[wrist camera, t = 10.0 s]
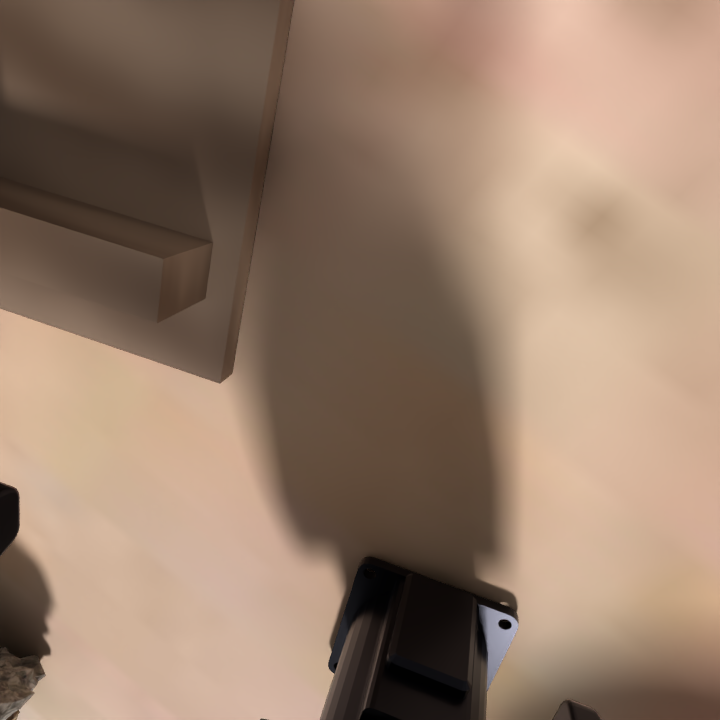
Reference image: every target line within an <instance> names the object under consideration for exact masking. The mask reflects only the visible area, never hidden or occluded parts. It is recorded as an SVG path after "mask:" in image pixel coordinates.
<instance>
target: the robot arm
mask: <svg viewBox="0 0 720 720" xmlns="http://www.w3.org/2000/svg"><path fill="white" fill-rule="evenodd" d="M19 526H20V509H19V492H18V490H17V489H16V488H15V487H12V486H10V485H7V484H4V483H2V482H0V556H1V555H2V554H3V553H4V551H5V550H6V549H7V548H8V547H9V546H10V544H11V543H12V542H13V541H14V539H15V537H16V536H17V533H18V531H19ZM367 569H372V570H374V571H375V572H370V571H368V570H367ZM502 619H506V620H509V621H508V622H504V621H501V620H502ZM517 630H518V615H517V613H516V612H515V611H514V610H513V609H511V608H509V607H507V606H504V605H501V604H499V603H496V602H493V601H490V600H488V599H485V598H482V597H480V596H477V595H474V594H472V593H469V592H466V591H463V590H461V589H458V588H455V587H453V586H450V585H447V584H444V583H442V582H439V581H436V580H434V579H431V578H428V577H426V576H423V575H420V574H417V573H415V572H412V571H409V570H407V569H404V568H401V567H399V566H396V565H393V564H390V563H388V562H385V561H382V560H380V559H377V558H374V557H366V558H364V559H362V561H361V562H360V565H359V568H358V570H357V574H356V577H355V580H354V583H353V586H352V590H351V593H350V596H349V599H348V602H347V605H346V609H345V612H344V615H343V618H342V621H341V624H340V628H339V631H338V634H337V637H336V640H335V644H334V647H333V650H332V653H331V656H330V659H329V663H328V667H329V669H330V670H331V671H332V672H333V673H334V677H333V680H332V683H331V686H330V689H329V693H328V696H327V699H326V702H325V705H324V708H323V711H322V714H321V717H320V720H486V701H487V690H488V688H489V686H490V684H491V682H492V680H493V678H494V676H495V674H496V672H497V670H498V668H499V666H500V664H501V662H502V660H503V658H504V656H505V654H506V652H507V650H508V648H509V646H510V644H511V642H512V640H513V638H514V636H515V634H516V632H517ZM260 720H267V719H260ZM552 720H602V719H601V717H600V716H599V714H598V713H597V712H596V711H595V710H594V709H593V708H592V707H589V706H587V705H584V704H581V703H579V702H576V701H574V700H571V699H567V700H565V701H563V703H562V704H561V705H560V707H559V709H558V711H557V712H556V714H555V716H554V718H553V719H552Z"/></svg>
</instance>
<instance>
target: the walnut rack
mask: <svg viewBox="0 0 720 720" xmlns="http://www.w3.org/2000/svg"><path fill="white" fill-rule="evenodd" d="M293 4H294V0H0V309H3V310H6V311H9V312H12V313H15V314H18V315H21V316H24V317H27V318H30V319H33V320H35V321H38V322H41V323H44V324H47V325H50V326H53V327H56V328H59V329H62V330H65V331H68V332H71V333H74V334H76V335H79V336H82V337H85V338H88V339H91V340H94V341H97V342H100V343H103V344H106V345H109V346H112V347H114V348H117V349H120V350H123V351H126V352H129V353H132V354H135V355H138V356H141V357H144V358H147V359H150V360H153V361H155V362H158V363H161V364H164V365H167V366H170V367H173V368H176V369H179V370H182V371H185V372H188V373H191V374H193V375H196V376H199V377H202V378H205V379H208V380H211V381H214V382H217V383H221V382H223V381H224V380H225V379H226V378H227V377H229V376H230V375H231V374H232V371H233V365H234V359H235V353H236V347H237V341H238V335H239V329H240V323H241V317H242V311H243V305H244V299H245V293H246V287H247V281H248V275H249V269H250V263H251V257H252V251H253V245H254V239H255V233H256V227H257V221H258V215H259V209H260V203H261V197H262V191H263V185H264V179H265V173H266V167H267V161H268V155H269V149H270V143H271V137H272V130H273V124H274V118H275V112H276V106H277V100H278V94H279V88H280V82H281V76H282V70H283V64H284V58H285V52H286V46H287V40H288V34H289V28H290V22H291V16H292V10H293Z"/></svg>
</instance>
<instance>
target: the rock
mask: <svg viewBox="0 0 720 720" xmlns="http://www.w3.org/2000/svg"><path fill="white" fill-rule="evenodd" d="M45 676H46V675H45V672H44V670H43V668H42V666H41V663H40V661H39V658H38V657H37V656H36V655H31V656H28V657H24V658H17V657H15V656H14V655H13V654H12V653H10V652H8V651H7V649H6V647H5V648H0V720H17V717H18V714H19V713H20V712H19V709H20V708H21V707H22V706H23V705H24V704H25V703H26V702H27V701H28V700H29V699H30V698H31V696H32V695H33V694H34V692H32V690H33V689H34V688H35V687H36V685H37V683H38V681H39V680H41V679H42V678H43V677H45Z"/></svg>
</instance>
